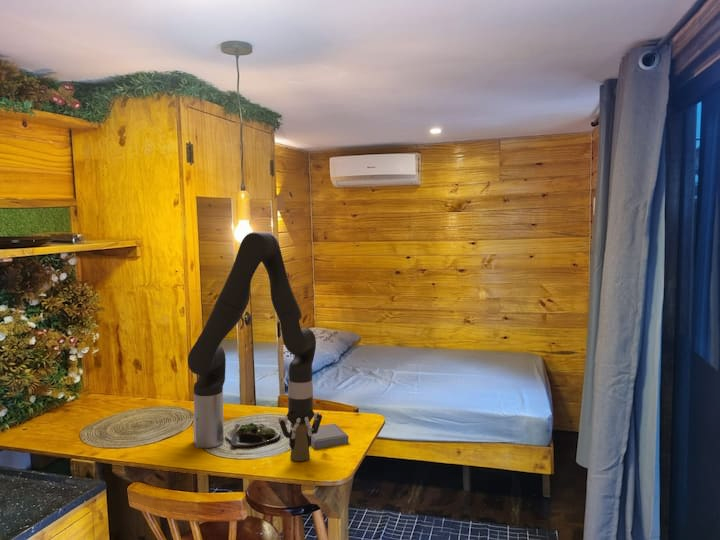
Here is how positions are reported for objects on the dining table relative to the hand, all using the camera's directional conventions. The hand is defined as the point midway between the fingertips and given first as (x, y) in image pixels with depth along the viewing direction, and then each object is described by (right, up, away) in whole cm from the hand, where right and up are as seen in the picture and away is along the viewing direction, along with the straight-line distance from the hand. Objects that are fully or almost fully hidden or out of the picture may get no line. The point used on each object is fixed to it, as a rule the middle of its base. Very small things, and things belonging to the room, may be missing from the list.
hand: (300, 447), depth 168 cm
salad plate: (-18, -3, +16) cm, 24 cm away
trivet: (+7, -2, +15) cm, 17 cm away
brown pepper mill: (0, -3, 0) cm, 3 cm away
